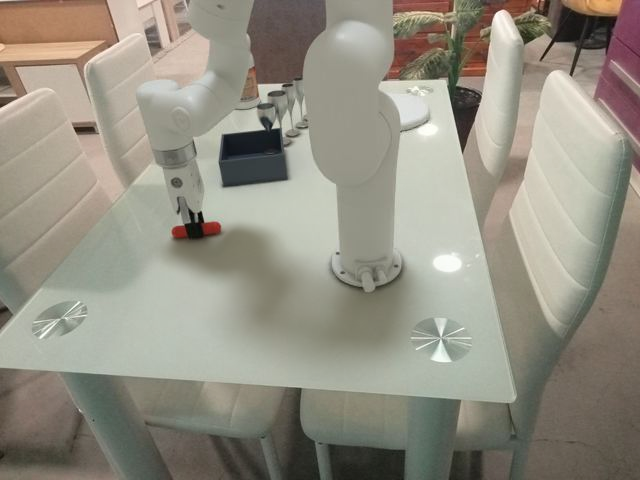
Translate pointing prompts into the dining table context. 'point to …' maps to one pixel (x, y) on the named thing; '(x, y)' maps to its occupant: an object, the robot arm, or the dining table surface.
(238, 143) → the bin
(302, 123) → the goblet set
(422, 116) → the decorative plate
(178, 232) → the red rounded rod
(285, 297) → the dining table surface
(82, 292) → the dining table surface
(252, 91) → the fruit juice
